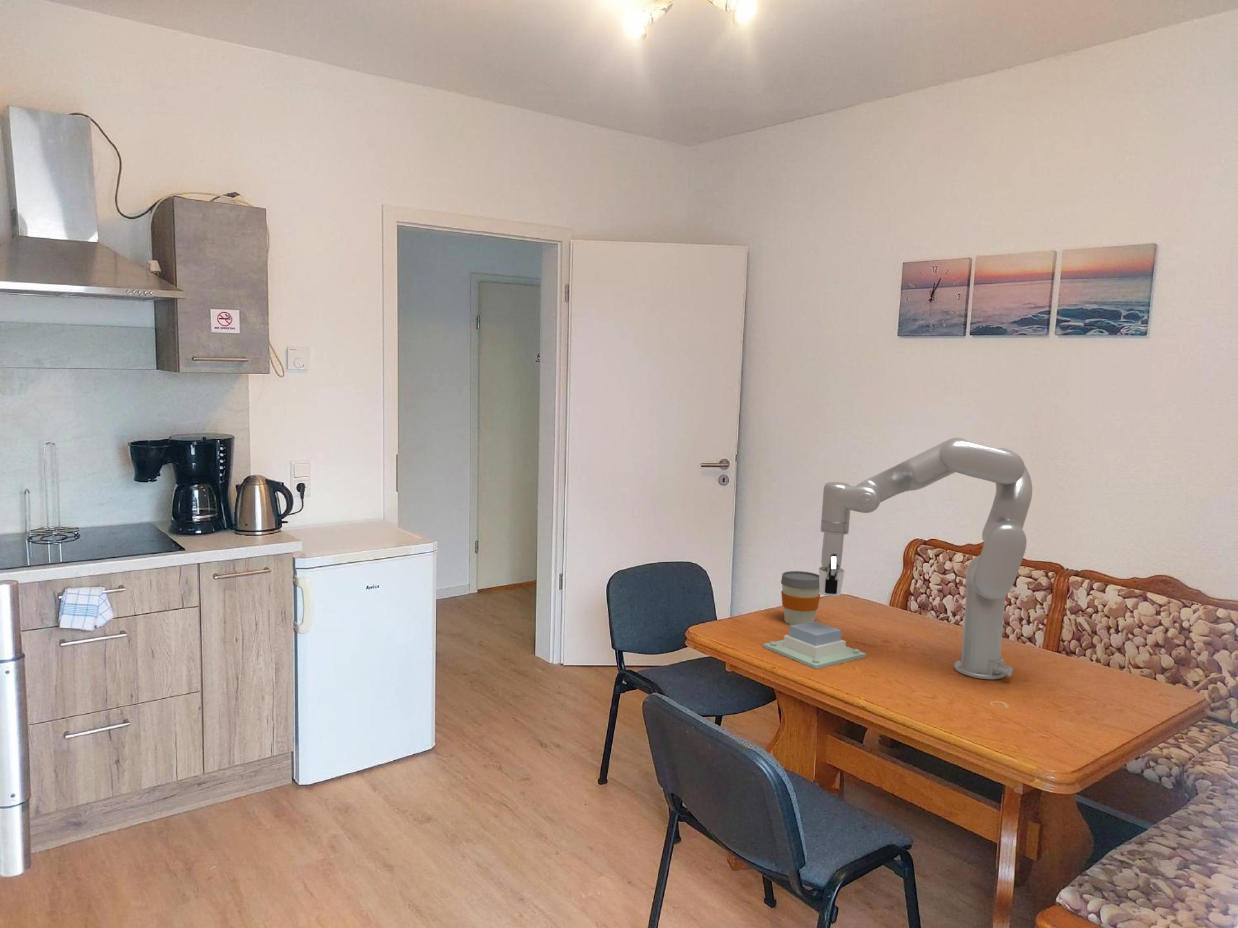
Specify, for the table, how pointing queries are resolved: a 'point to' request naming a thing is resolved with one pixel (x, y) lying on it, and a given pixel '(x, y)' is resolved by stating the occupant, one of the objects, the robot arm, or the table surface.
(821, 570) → the white tapered cup
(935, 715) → the table surface
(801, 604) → the reusable coffee cup
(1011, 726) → the table surface
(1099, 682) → the table surface
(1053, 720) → the table surface
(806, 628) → the stepped tiered stack
